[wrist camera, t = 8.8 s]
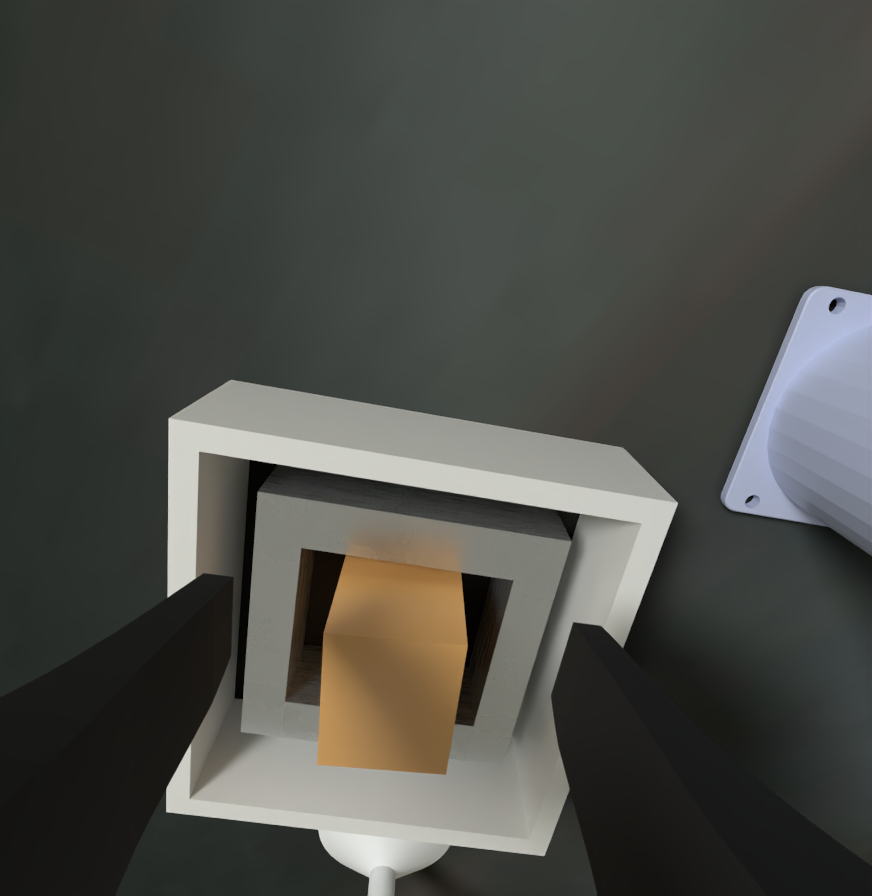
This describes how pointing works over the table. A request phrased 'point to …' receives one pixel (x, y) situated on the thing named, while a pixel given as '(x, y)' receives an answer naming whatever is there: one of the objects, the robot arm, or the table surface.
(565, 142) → the table surface
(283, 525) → the inlet socket
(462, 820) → the walled box
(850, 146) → the table surface
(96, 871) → the robot arm
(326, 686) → the light brown rectangular block
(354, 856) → the champagne flute
